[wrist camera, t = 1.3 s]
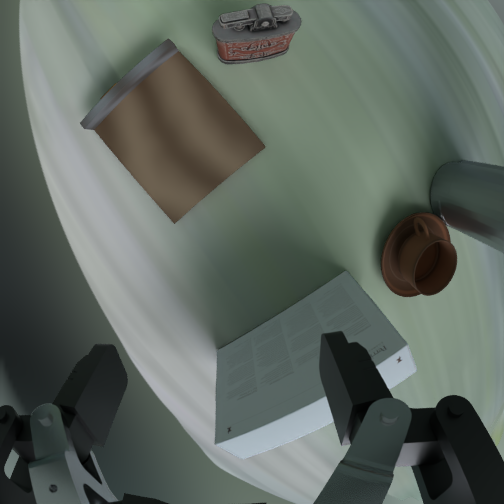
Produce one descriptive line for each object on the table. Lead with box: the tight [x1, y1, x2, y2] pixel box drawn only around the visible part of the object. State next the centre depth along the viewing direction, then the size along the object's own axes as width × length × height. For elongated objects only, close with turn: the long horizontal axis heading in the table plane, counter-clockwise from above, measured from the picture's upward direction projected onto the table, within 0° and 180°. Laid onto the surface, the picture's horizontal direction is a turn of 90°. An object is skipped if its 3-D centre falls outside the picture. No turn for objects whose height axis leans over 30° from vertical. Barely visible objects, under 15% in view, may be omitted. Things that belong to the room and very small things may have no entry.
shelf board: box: [80, 39, 265, 224], centre depth 27 cm, size 13×17×4 cm
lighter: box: [212, 4, 301, 64], centre depth 21 cm, size 8×3×10 cm, turn 103°
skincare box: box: [215, 271, 417, 459], centre depth 30 cm, size 21×6×16 cm, turn 125°
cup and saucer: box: [381, 212, 457, 297], centre depth 32 cm, size 12×12×6 cm
